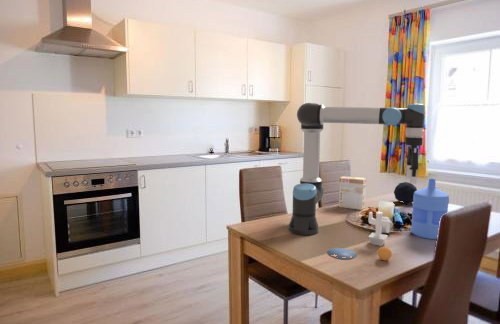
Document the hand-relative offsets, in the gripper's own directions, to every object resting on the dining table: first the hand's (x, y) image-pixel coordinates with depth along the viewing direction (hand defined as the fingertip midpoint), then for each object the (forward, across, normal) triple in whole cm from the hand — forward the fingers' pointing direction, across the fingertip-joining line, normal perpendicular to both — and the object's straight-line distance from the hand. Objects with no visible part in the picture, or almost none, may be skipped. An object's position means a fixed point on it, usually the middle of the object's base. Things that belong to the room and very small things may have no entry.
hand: (410, 180), depth 169 cm
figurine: (+28, -16, +14) cm, 35 cm away
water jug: (+28, +5, -10) cm, 30 cm away
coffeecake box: (+28, +46, +28) cm, 60 cm away
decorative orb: (+28, +70, -7) cm, 75 cm away
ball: (+25, -35, +13) cm, 44 cm away
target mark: (+28, -34, +30) cm, 52 cm away
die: (+28, +2, +11) cm, 30 cm away
